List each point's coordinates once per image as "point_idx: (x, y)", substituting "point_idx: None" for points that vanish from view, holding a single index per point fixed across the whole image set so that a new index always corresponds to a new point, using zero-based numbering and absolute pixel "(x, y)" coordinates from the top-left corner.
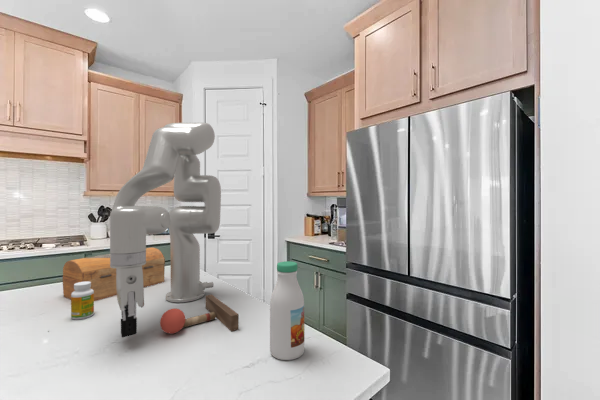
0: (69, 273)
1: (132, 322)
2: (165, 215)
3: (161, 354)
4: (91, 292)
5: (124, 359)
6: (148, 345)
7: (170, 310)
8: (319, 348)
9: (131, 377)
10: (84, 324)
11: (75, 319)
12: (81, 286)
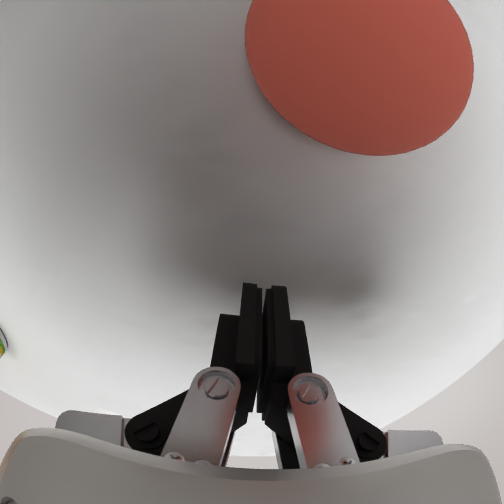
0: None
1: (309, 370)
2: None
3: (486, 221)
4: None
5: (412, 326)
6: (390, 234)
7: (429, 52)
8: None
9: (493, 317)
10: (31, 345)
11: (6, 346)
12: None
